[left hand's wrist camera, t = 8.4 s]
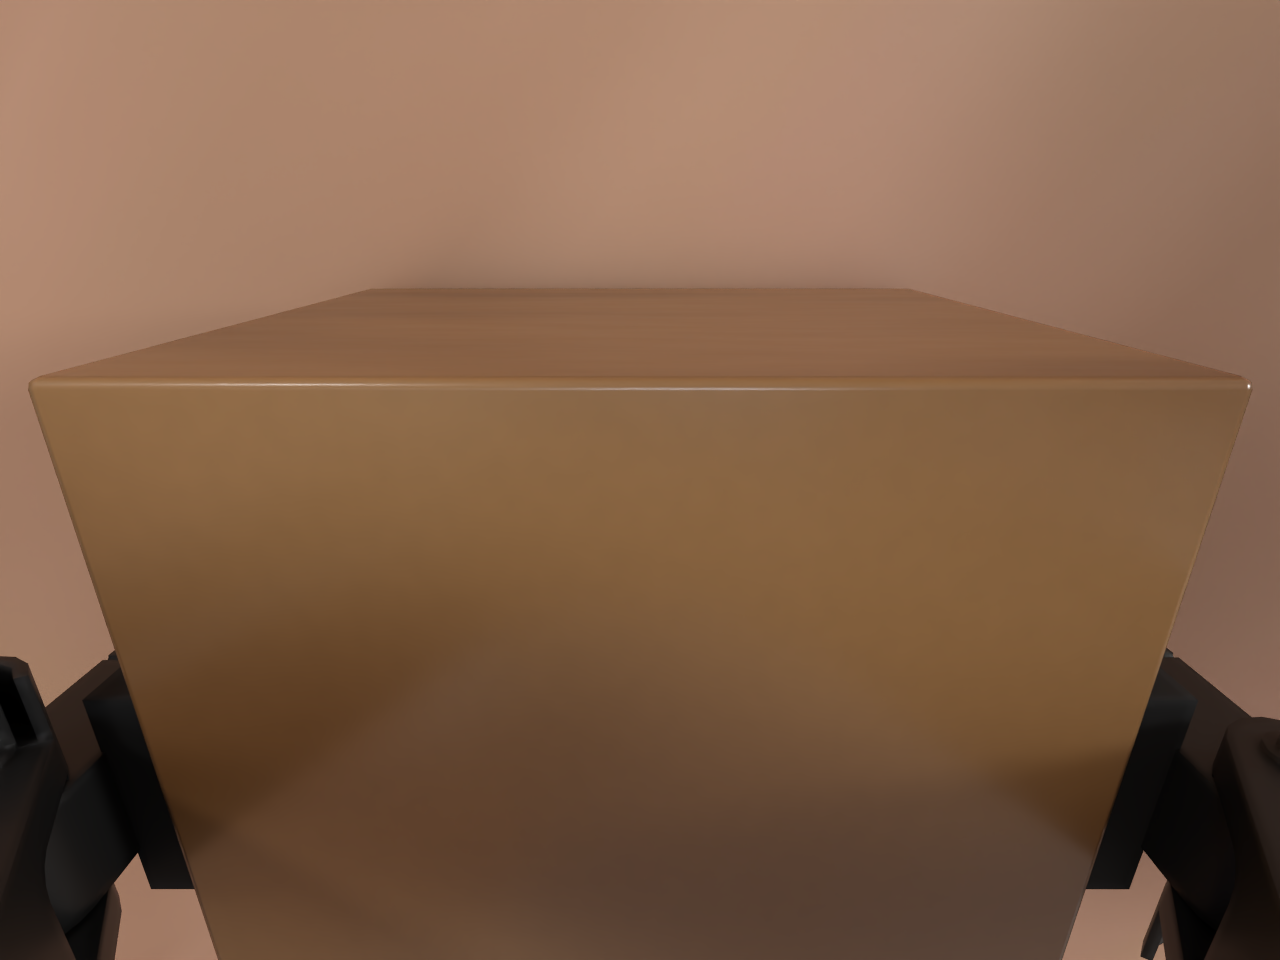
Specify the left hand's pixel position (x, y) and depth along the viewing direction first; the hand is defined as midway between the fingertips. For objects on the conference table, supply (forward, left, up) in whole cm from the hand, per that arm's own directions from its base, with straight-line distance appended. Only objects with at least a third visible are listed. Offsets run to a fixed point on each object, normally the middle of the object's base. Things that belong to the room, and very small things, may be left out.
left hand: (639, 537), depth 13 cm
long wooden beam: (-21, +23, -1) cm, 31 cm away
